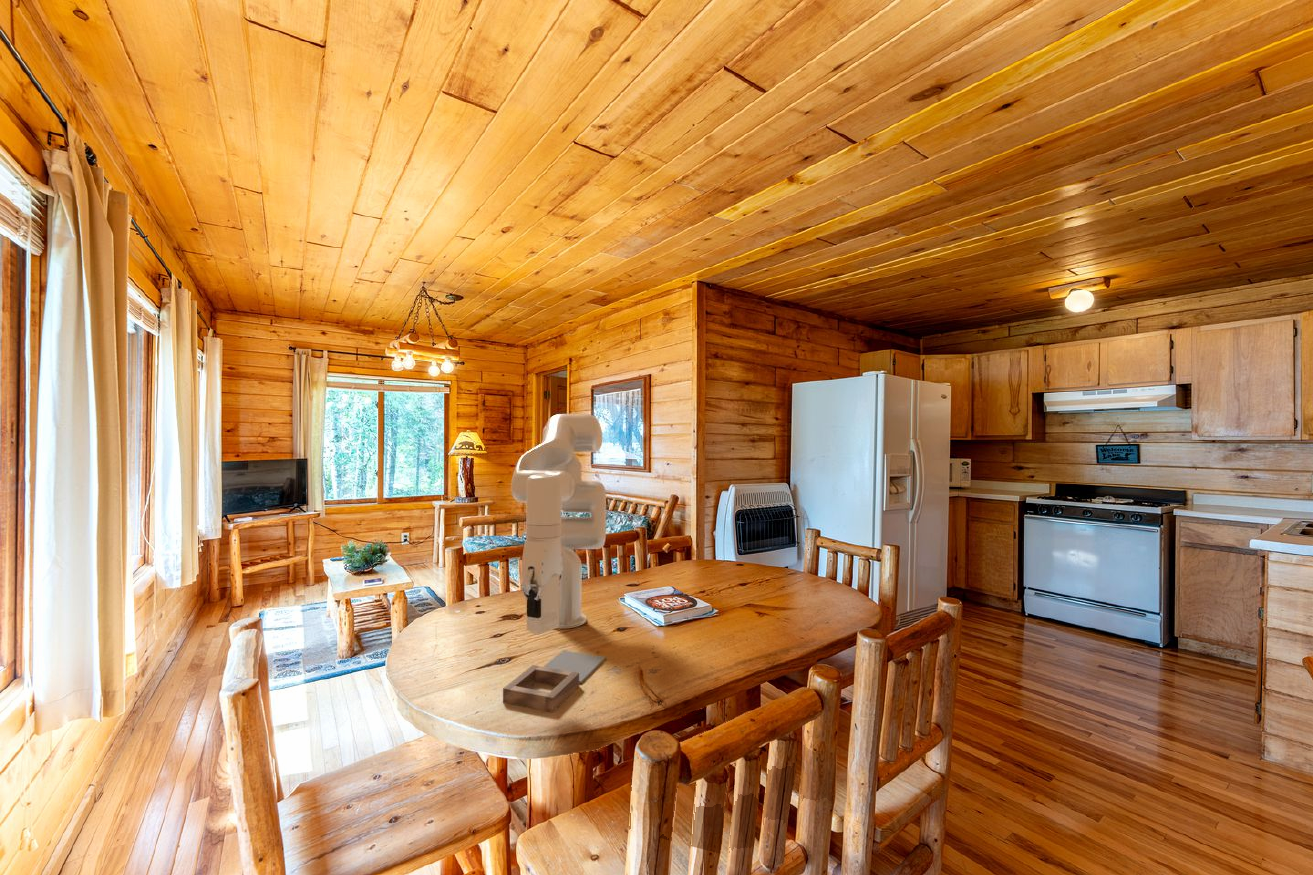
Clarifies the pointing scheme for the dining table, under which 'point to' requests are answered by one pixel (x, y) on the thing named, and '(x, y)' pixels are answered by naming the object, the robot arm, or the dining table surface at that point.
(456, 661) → the dining table surface
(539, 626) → the skincare box
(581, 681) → the rubber mat
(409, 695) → the dining table surface
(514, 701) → the square box holder
